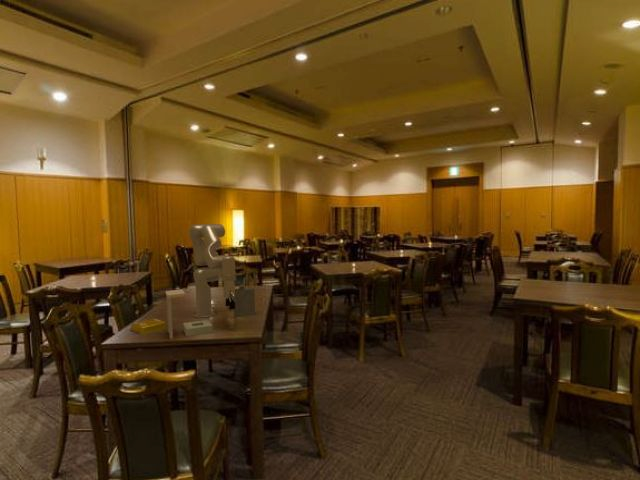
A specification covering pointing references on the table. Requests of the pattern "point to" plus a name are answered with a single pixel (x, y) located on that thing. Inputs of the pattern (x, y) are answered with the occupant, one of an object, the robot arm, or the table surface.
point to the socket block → (189, 327)
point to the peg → (230, 318)
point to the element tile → (148, 326)
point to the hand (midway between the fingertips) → (230, 307)
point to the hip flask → (244, 302)
